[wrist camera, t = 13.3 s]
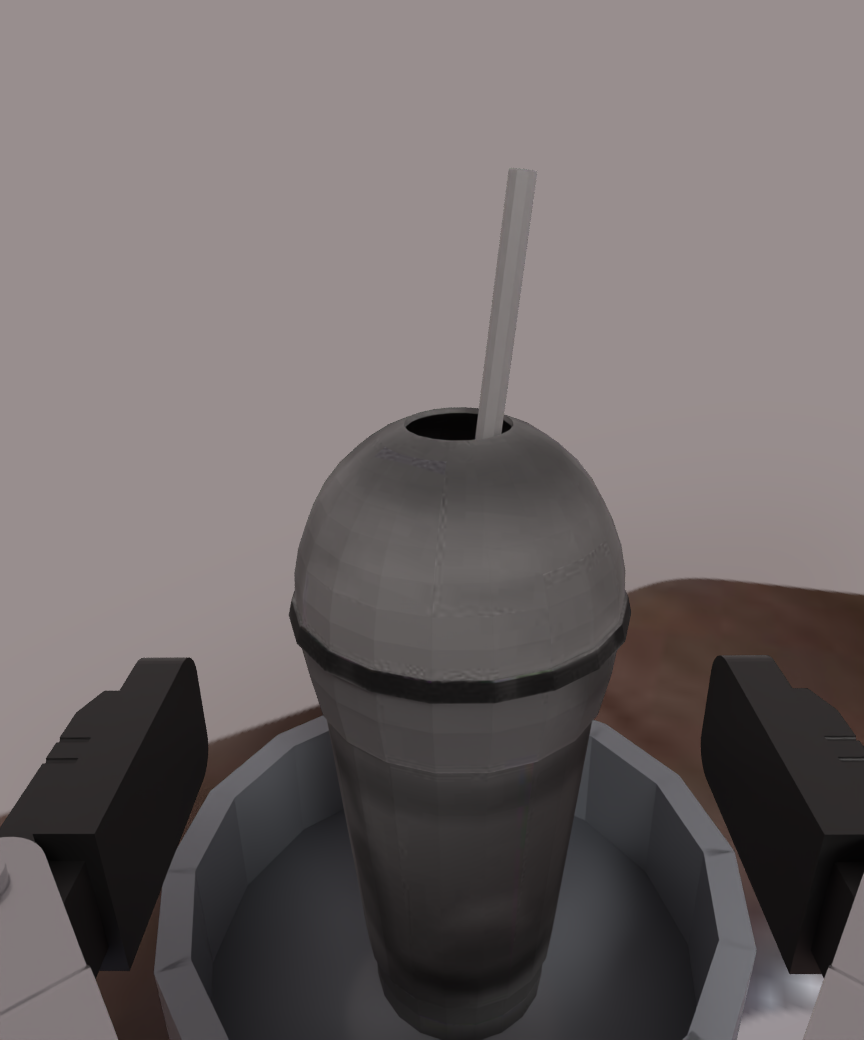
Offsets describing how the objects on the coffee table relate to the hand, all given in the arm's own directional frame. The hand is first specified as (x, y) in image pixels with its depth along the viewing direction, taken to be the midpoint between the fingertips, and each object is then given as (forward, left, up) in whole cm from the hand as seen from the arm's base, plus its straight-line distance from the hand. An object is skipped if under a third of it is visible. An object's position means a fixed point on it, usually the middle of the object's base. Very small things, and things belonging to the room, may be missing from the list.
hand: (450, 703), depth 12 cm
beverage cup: (+2, -4, -13) cm, 14 cm away
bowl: (+3, -4, -13) cm, 14 cm away
